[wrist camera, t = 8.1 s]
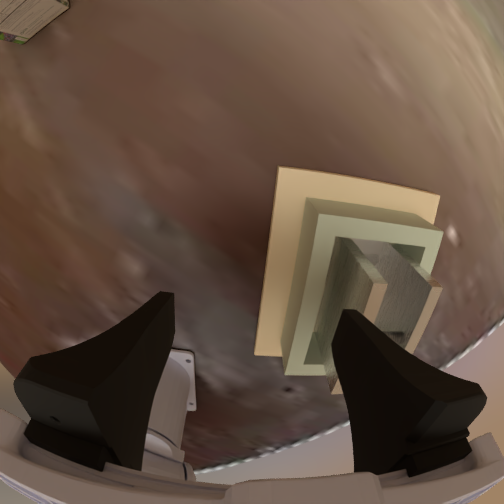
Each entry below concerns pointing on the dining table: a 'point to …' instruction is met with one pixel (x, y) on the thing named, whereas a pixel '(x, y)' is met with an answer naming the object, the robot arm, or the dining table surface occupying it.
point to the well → (329, 250)
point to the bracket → (374, 295)
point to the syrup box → (27, 17)
